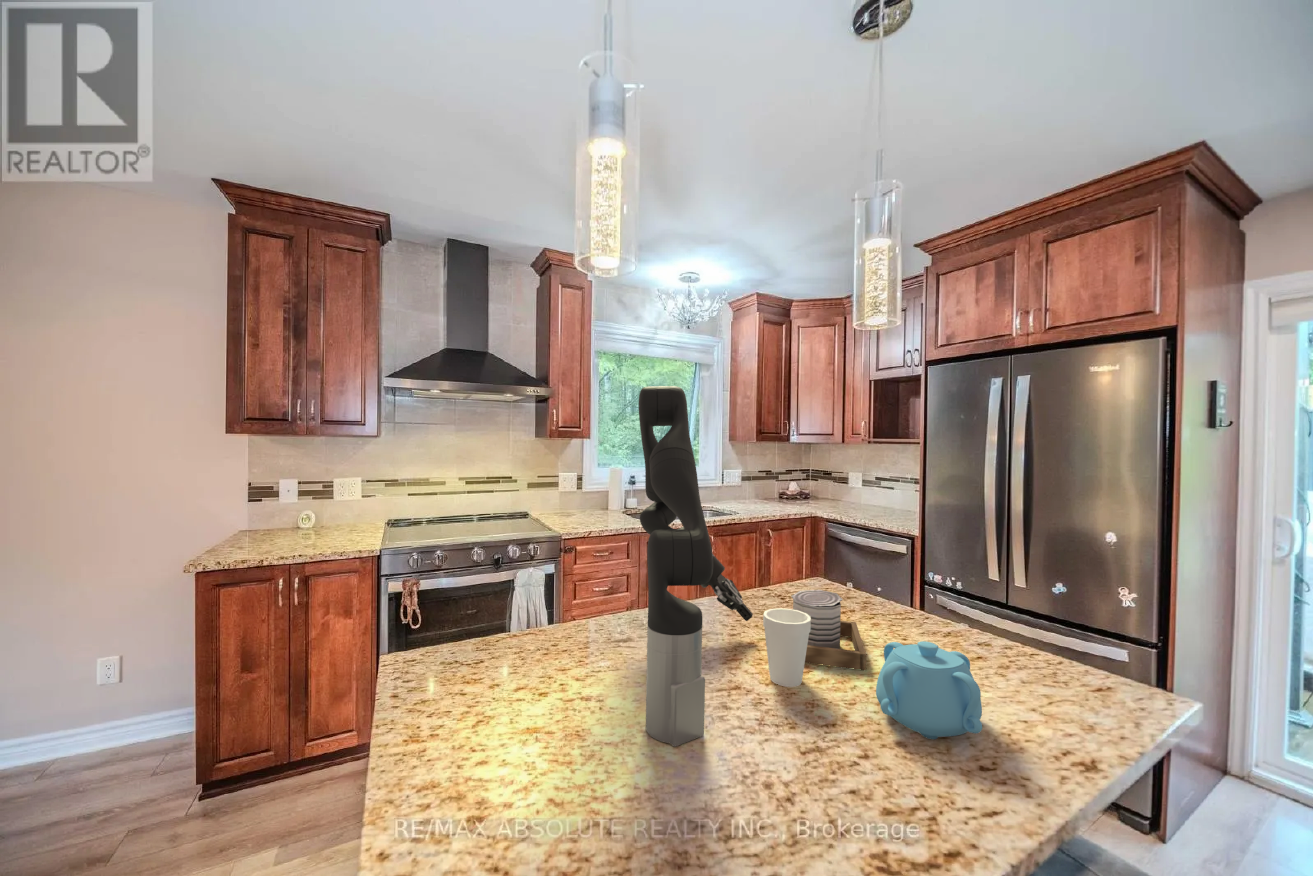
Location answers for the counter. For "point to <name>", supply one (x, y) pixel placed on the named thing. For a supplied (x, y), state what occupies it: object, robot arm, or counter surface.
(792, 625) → the foam cup
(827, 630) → the can
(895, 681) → the decorative pot
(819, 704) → the counter surface
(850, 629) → the tray
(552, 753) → the counter surface
